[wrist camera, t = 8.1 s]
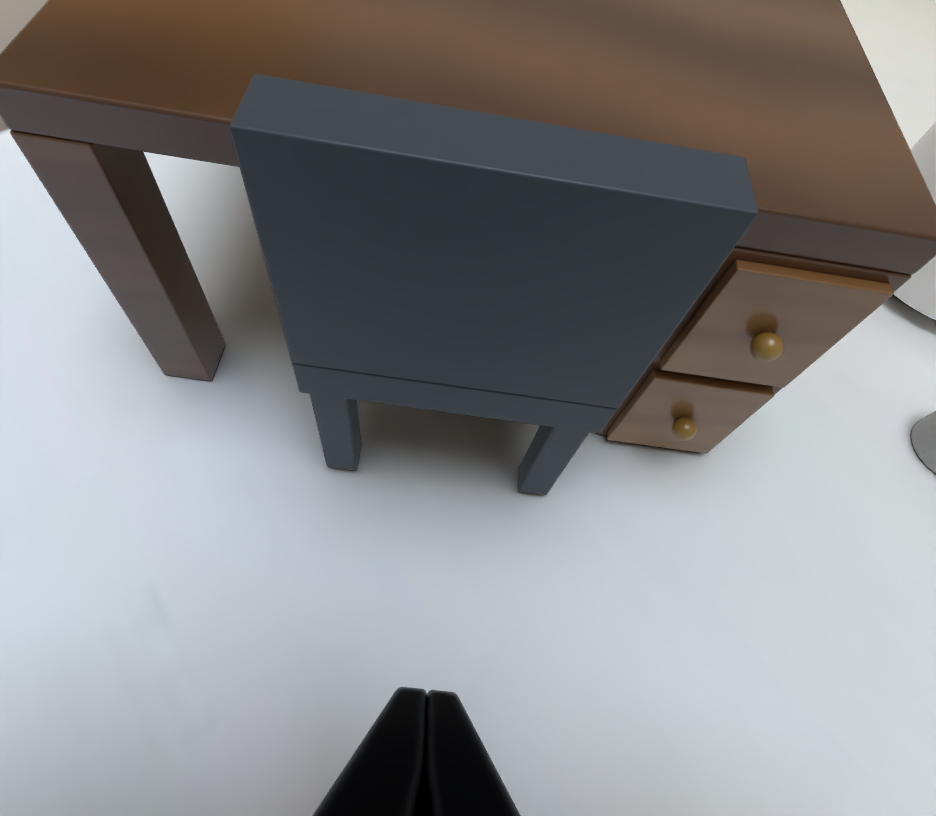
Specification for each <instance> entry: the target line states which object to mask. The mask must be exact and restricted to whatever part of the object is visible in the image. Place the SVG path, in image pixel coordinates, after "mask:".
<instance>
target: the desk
mask: <svg viewBox="0 0 936 816" xmlns="http://www.w3.org/2000/svg"><path fill="white" fill-rule="evenodd" d="M254 74H261V75H267V76H273V77H279V78H285V79H290V80H296V81H302V82H308V83H314V84H320V85H326V86H331V87H337V88H343V89H349V90H355V91H361V92H366V93H372V94H378V95H384V96H390V97H396V98H402V99H407V100H413V101H419V102H425V103H431V104H437V105H443V106H448V107H454V108H460V109H466V110H472V111H478V112H483V113H489V114H495V115H501V116H507V117H513V118H519V119H524V120H530V121H536V122H542V123H548V124H554V125H560V126H565V127H571V128H577V129H583V130H589V131H595V132H600V133H606V134H612V135H618V136H624V137H630V138H636V139H641V140H647V141H653V142H659V143H665V144H671V145H677V146H682V147H688V148H694V149H700V150H706V151H712V152H717V153H723V154H729V155H735V156H741V157H744V158H745V159H746V162H747V166H748V170H749V174H750V179H751V183H752V187H753V191H754V195H755V199H756V204H757V208H758V215H757V217H756V218H755V220H754V221H753V223H752V224H751V225H750V227H749V228H748V229H747V231H746V232H745V234H744V235H743V236H742V238H741V239H740V240H739V242H738V243H737V245H736V246H735V247H734V249H733V250H732V252H731V253H730V254H729V256H728V257H727V258H726V260H725V261H724V263H723V264H722V265H721V267H720V268H719V269H718V271H717V272H716V274H715V275H714V276H713V278H712V279H711V281H710V282H709V283H708V285H707V286H706V287H705V289H704V290H703V292H702V293H701V294H700V296H699V297H698V298H697V300H696V301H695V303H694V304H693V305H692V307H691V308H690V310H689V311H688V312H687V314H686V315H685V316H684V318H683V319H682V321H681V322H680V323H679V325H678V326H677V327H676V329H675V330H674V332H673V333H672V334H671V336H670V337H669V338H668V340H667V341H666V343H665V344H664V345H663V347H662V348H661V350H660V351H659V352H658V354H657V355H656V356H655V358H654V359H653V361H652V362H651V363H650V365H649V366H648V367H647V369H646V370H645V372H644V373H643V374H642V376H641V377H640V379H639V380H638V381H637V383H636V384H635V385H634V387H633V388H632V390H631V391H630V392H629V394H628V395H627V396H626V398H625V399H624V401H623V402H622V403H621V405H620V406H619V407H618V408H617V410H616V412H615V413H614V415H613V416H612V417H611V419H610V420H609V421H608V423H607V424H606V426H605V427H604V428H603V430H602V431H601V432H600V433H597V434H603V435H607V440H612V441H619V442H627V443H634V444H641V445H649V446H656V447H663V448H671V449H678V450H685V451H693V452H700V453H708V452H709V451H710V450H711V449H713V448H714V447H715V446H716V445H717V444H719V443H720V442H721V441H722V440H723V439H724V438H726V437H727V436H728V435H729V434H730V433H731V432H733V431H734V430H735V429H736V428H737V427H738V426H740V425H741V424H742V423H743V422H744V421H745V420H747V419H748V418H749V417H750V416H751V415H753V414H754V413H755V412H756V411H757V410H758V409H760V408H761V407H762V406H763V405H764V404H765V403H767V402H768V401H769V400H770V399H771V398H772V397H774V395H775V394H776V393H777V392H778V391H779V390H781V389H782V388H783V387H785V386H787V385H788V384H789V383H790V382H791V381H792V380H794V379H795V378H796V377H797V376H798V375H799V374H801V373H802V372H803V371H804V370H805V369H806V368H808V367H809V366H810V365H811V364H812V363H814V362H815V361H816V360H817V359H818V358H819V357H821V356H822V355H823V354H824V353H825V352H826V351H828V350H829V349H830V348H831V347H832V346H833V345H835V344H836V343H837V342H838V341H839V340H840V339H842V338H843V337H844V336H845V335H846V334H848V333H849V332H850V331H851V330H852V329H853V328H855V327H856V326H857V325H858V324H859V323H860V322H862V321H863V320H864V319H865V318H866V317H867V316H869V315H870V314H871V313H872V312H873V311H874V310H876V309H877V308H878V307H879V306H880V305H882V304H883V303H884V302H885V301H886V300H887V299H889V298H890V297H891V296H892V295H893V294H894V292H895V291H896V290H897V289H899V288H900V287H901V286H902V285H903V284H904V283H906V282H907V281H908V280H909V279H910V278H911V274H914V273H916V272H917V271H919V270H920V269H921V268H922V267H923V266H924V265H926V264H927V263H928V262H929V261H930V260H932V259H933V258H934V257H935V256H936V204H935V202H934V200H933V197H932V195H931V193H930V191H929V189H928V187H927V185H926V182H925V180H924V178H923V176H922V174H921V172H920V170H919V168H918V165H917V163H916V161H915V159H914V157H913V155H912V153H911V151H910V148H909V146H908V144H907V142H906V140H905V138H904V136H903V133H902V131H901V129H900V127H899V125H898V123H897V121H896V119H895V116H894V114H893V112H892V110H891V108H890V106H889V104H888V101H887V99H886V97H885V95H884V93H883V91H882V89H881V87H880V84H879V82H878V80H877V78H876V76H875V74H874V72H873V69H872V67H871V65H870V63H869V61H868V59H867V57H866V55H865V52H864V50H863V48H862V46H861V44H860V42H859V40H858V37H857V35H856V33H855V31H854V29H853V27H852V25H851V23H850V20H849V18H848V16H847V14H846V12H845V10H844V8H843V5H842V3H841V1H840V0H48V1H47V2H46V3H45V5H44V6H43V7H42V8H41V9H40V10H39V11H38V12H37V14H36V15H35V16H34V17H33V18H32V19H31V20H30V21H29V22H28V24H27V25H26V26H25V27H24V28H23V29H22V30H21V31H20V32H19V34H18V35H17V36H16V37H15V38H14V39H13V40H12V41H11V42H10V44H9V45H8V46H7V47H6V48H5V49H4V50H3V51H2V53H1V54H0V117H1V118H2V120H3V121H4V123H5V124H6V126H7V127H8V128H9V129H11V132H10V133H11V135H12V137H13V139H14V140H15V142H16V143H17V145H18V146H19V148H20V149H21V151H22V153H23V154H24V156H25V157H26V159H27V160H28V162H29V164H30V165H31V167H32V168H33V170H34V171H35V173H36V174H37V176H38V178H39V179H40V181H41V182H42V184H43V185H44V187H45V189H46V190H47V192H48V193H49V195H50V196H51V198H52V199H53V201H54V203H55V204H56V206H57V207H58V209H59V210H60V212H61V214H62V215H63V217H64V218H65V220H66V221H67V223H68V224H69V226H70V228H71V229H72V231H73V232H74V234H75V235H76V237H77V239H78V240H79V242H80V243H81V245H82V246H83V248H84V250H85V251H86V253H87V254H88V256H89V257H90V259H91V260H92V262H93V264H94V265H95V267H96V268H97V270H98V271H99V273H100V275H101V276H102V278H103V279H104V281H105V282H106V284H107V285H108V287H109V289H110V290H111V292H112V293H113V295H114V296H115V298H116V300H117V301H118V303H119V304H120V306H121V307H122V309H123V310H124V312H125V314H126V315H127V317H128V318H129V320H130V321H131V323H132V325H133V326H134V328H135V329H136V331H137V332H138V334H139V335H140V337H141V339H142V340H143V342H144V343H145V345H146V346H147V348H148V350H149V351H150V353H151V354H152V356H153V357H154V359H155V361H156V362H157V364H158V365H159V367H160V368H161V370H162V371H163V373H164V374H165V375H171V376H178V377H185V378H192V379H200V380H207V381H212V379H213V376H214V374H215V371H216V368H217V365H218V363H219V360H220V357H221V355H222V352H223V349H224V347H225V342H224V339H223V337H222V335H221V332H220V330H219V328H218V325H217V323H216V321H215V318H214V316H213V314H212V311H211V309H210V307H209V304H208V302H207V300H206V297H205V295H204V293H203V290H202V288H201V286H200V283H199V281H198V279H197V276H196V274H195V271H194V269H193V267H192V264H191V262H190V260H189V257H188V255H187V253H186V250H185V248H184V246H183V243H182V241H181V239H180V236H179V234H178V232H177V229H176V227H175V225H174V222H173V220H172V218H171V215H170V213H169V211H168V208H167V206H166V204H165V201H164V199H163V197H162V194H161V192H160V190H159V187H158V185H157V183H156V180H155V178H154V176H153V173H152V171H151V169H150V166H149V164H148V162H147V159H146V157H145V155H144V152H150V153H156V154H162V155H168V156H175V157H181V158H187V159H193V160H200V161H206V162H212V163H218V164H225V165H231V166H237V167H240V166H239V162H238V159H237V155H236V151H235V147H234V144H233V140H232V136H231V132H230V128H229V126H230V123H231V121H232V119H233V117H234V115H235V113H236V111H237V108H238V106H239V104H240V102H241V100H242V98H243V96H244V94H245V92H246V90H247V88H248V86H249V84H250V81H251V79H252V77H253V75H254ZM143 151H144V152H143Z"/></svg>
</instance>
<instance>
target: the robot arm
mask: <svg viewBox="0 0 936 816" xmlns="http://www.w3.org/2000/svg"><path fill="white" fill-rule="evenodd" d="M313 816H520V814H519V812H518V810H517V808H516V806H515V804H514V802H513V801H512V799H511V797H510V795H509V793H508V791H507V789H506V787H505V785H504V783H503V781H502V780H501V778H500V776H499V774H498V772H497V770H496V768H495V766H494V764H493V762H492V760H491V758H490V757H489V755H488V753H487V751H486V749H485V747H484V745H483V743H482V741H481V739H480V737H479V736H478V734H477V732H476V730H475V728H474V726H473V724H472V722H471V720H470V718H469V716H468V714H467V713H466V711H465V709H464V707H463V705H462V703H461V701H460V699H459V697H458V696H457V695H456V694H455V693H454V692H447V691H437V690H431V691H429V692H428V693H426V691H425V690H424V689H418V688H409V687H400V688H398V689H397V690H396V691H395V693H394V694H393V696H392V697H391V699H390V700H389V702H388V703H387V705H386V706H385V708H384V709H383V711H382V712H381V714H380V715H379V717H378V718H377V720H376V721H375V723H374V724H373V726H372V727H371V729H370V730H369V732H368V733H367V735H366V736H365V738H364V739H363V741H362V742H361V744H360V745H359V747H358V748H357V750H356V751H355V753H354V754H353V756H352V757H351V759H350V760H349V762H348V763H347V765H346V766H345V768H344V769H343V771H342V772H341V774H340V775H339V777H338V778H337V780H336V781H335V783H334V784H333V786H332V787H331V789H330V790H329V792H328V793H327V795H326V796H325V798H324V799H323V801H322V802H321V804H320V805H319V807H318V808H317V810H316V811H315V813H314V814H313Z"/></svg>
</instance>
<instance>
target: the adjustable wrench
mask: <svg viewBox="0 0 936 816" xmlns="http://www.w3.org/2000/svg"><path fill="white" fill-rule="evenodd" d="M911 438H912V443H913V447H914V449H915V451H916V453H917V455H918V456H919V458H920V459H921V460H922V461H923V462H924V464H925V465H926V466H927V467H928V468H930V469H931V470H932V471H933V472H935V473H936V411H935V412H933V413H932V414H930V415H928V416H926V417H925V418H923V419H921V420H920V421H918V422H917V423H916V424H915V425H914V427H913V428H912V434H911Z"/></svg>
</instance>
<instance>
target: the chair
mask: <svg viewBox="0 0 936 816" xmlns="http://www.w3.org/2000/svg"><path fill="white" fill-rule="evenodd" d="M229 128H230V132H231V136H232V140H233V144H234V147H235V151H236V155H237V159H238V162H239V166H240V170H241V174H242V177H243V181H244V185H245V189H246V192H247V196H248V200H249V204H250V207H251V211H252V215H253V219H254V222H255V226H256V230H257V234H258V237H259V241H260V245H261V249H262V252H263V256H264V260H265V264H266V267H267V271H268V275H269V279H270V282H271V286H272V290H273V294H274V297H275V301H276V305H277V309H278V312H279V316H280V320H281V324H282V327H283V331H284V335H285V339H286V342H287V346H288V350H289V354H290V357H291V361H292V365H293V369H294V373H295V376H296V380H297V384H298V388H299V391H300V392H302V393H309V394H310V397H311V401H312V405H313V409H314V414H315V418H316V422H317V426H318V430H319V435H320V439H321V443H322V447H323V452H324V456H325V460H326V464H327V467H332V468H340V469H347V470H356V469H357V466H358V461H359V456H360V451H361V435H360V425H359V415H358V404H357V400H361V401H368V402H375V403H383V404H390V405H397V406H404V407H412V408H419V409H426V410H434V411H441V412H448V413H456V414H463V415H470V416H478V417H485V418H492V419H499V420H507V421H514V422H521V423H529V424H536V425H540V427H539V429H538V431H537V433H536V435H535V437H534V439H533V441H532V443H531V445H530V447H529V449H528V451H527V453H526V455H525V457H524V459H523V461H522V463H521V464H520V466H519V485H518V489H519V491H520V492H526V493H534V494H542V495H546V494H547V493H548V492H549V490H550V489H551V487H552V486H553V484H554V483H555V481H556V480H557V478H558V477H559V475H560V474H561V473H562V471H563V470H564V468H565V467H566V465H567V464H568V462H569V461H570V459H571V458H572V457H573V455H574V454H575V452H576V451H577V449H578V448H579V446H580V445H581V443H582V442H583V440H584V439H585V438H586V436H587V435H588V433H589V432H594V433H600V432H601V431H602V430H603V428H604V427H605V426H606V424H607V423H608V421H609V420H610V419H611V417H612V416H613V415H614V413H615V412H616V410H617V408H618V407H619V406H620V405H621V403H622V402H623V401H624V399H625V398H626V396H627V395H628V394H629V392H630V391H631V390H632V388H633V387H634V385H635V384H636V383H637V381H638V380H639V379H640V377H641V376H642V374H643V373H644V372H645V370H646V369H647V367H648V366H649V365H650V363H651V362H652V361H653V359H654V358H655V356H656V355H657V354H658V352H659V351H660V350H661V348H662V347H663V345H664V344H665V343H666V341H667V340H668V338H669V337H670V336H671V334H672V333H673V332H674V330H675V329H676V327H677V326H678V325H679V323H680V322H681V321H682V319H683V318H684V316H685V315H686V314H687V312H688V311H689V310H690V308H691V307H692V305H693V304H694V303H695V301H696V300H697V298H698V297H699V296H700V294H701V293H702V292H703V290H704V289H705V287H706V286H707V285H708V283H709V282H710V281H711V279H712V278H713V276H714V275H715V274H716V272H717V271H718V269H719V268H720V267H721V265H722V264H723V263H724V261H725V260H726V258H727V257H728V256H729V254H730V253H731V252H732V250H733V249H734V247H735V246H736V245H737V243H738V242H739V240H740V239H741V238H742V236H743V235H744V234H745V232H746V231H747V229H748V228H749V227H750V225H751V224H752V223H753V221H754V220H755V218H756V217H757V215H758V208H757V204H756V199H755V195H754V191H753V187H752V183H751V179H750V174H749V170H748V166H747V162H746V159H745V158H744V157H741V156H735V155H729V154H723V153H717V152H712V151H706V150H700V149H694V148H688V147H682V146H677V145H671V144H665V143H659V142H653V141H647V140H641V139H636V138H630V137H624V136H618V135H612V134H606V133H600V132H595V131H589V130H583V129H577V128H571V127H565V126H560V125H554V124H548V123H542V122H536V121H530V120H524V119H519V118H513V117H507V116H501V115H495V114H489V113H483V112H478V111H472V110H466V109H460V108H454V107H448V106H443V105H437V104H431V103H425V102H419V101H413V100H407V99H402V98H396V97H390V96H384V95H378V94H372V93H366V92H361V91H355V90H349V89H343V88H337V87H331V86H326V85H320V84H314V83H308V82H302V81H296V80H290V79H285V78H279V77H273V76H267V75H261V74H254V75H253V77H252V79H251V81H250V84H249V86H248V88H247V90H246V92H245V94H244V96H243V98H242V100H241V102H240V104H239V106H238V108H237V111H236V113H235V115H234V117H233V119H232V121H231V123H230V126H229Z"/></svg>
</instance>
